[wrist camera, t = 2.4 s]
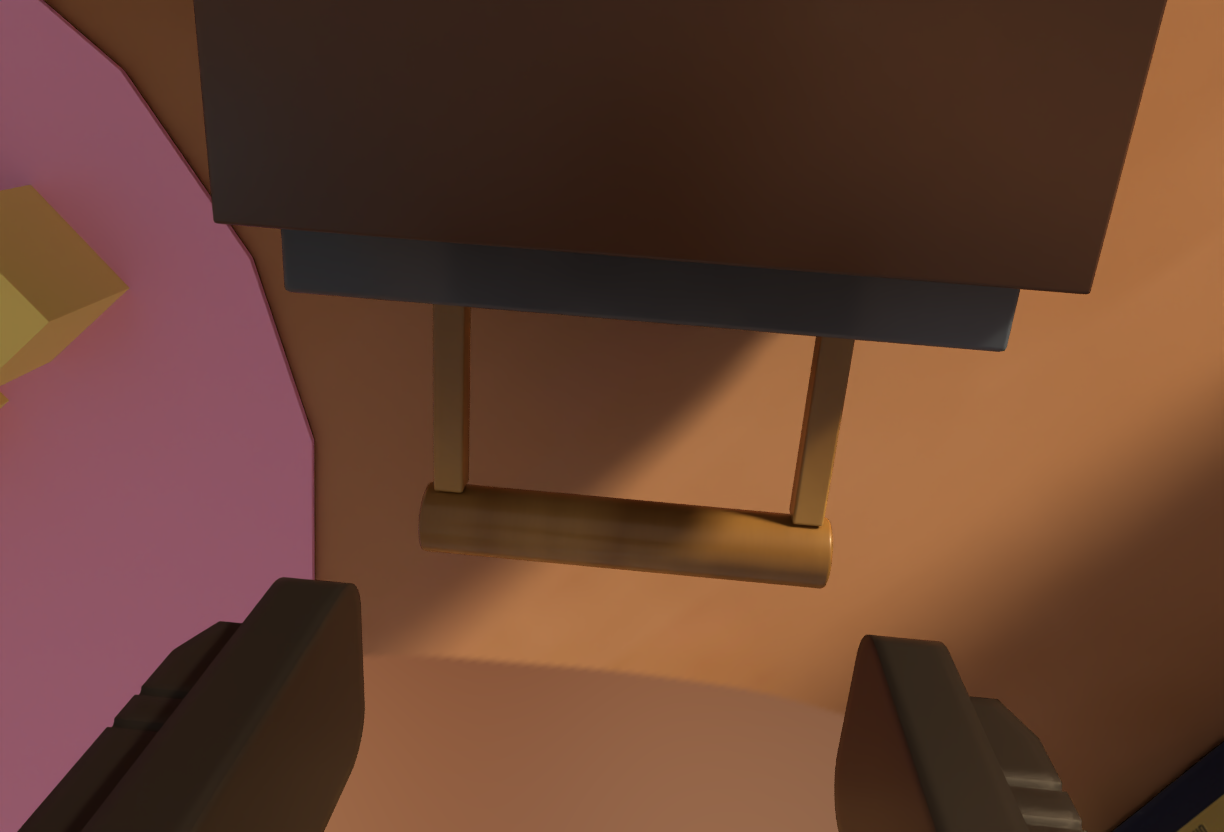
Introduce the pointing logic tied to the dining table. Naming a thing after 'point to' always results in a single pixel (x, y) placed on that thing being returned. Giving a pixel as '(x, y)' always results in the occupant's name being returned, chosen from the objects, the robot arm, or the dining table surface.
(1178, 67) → the dining table surface
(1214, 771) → the protein box
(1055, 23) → the cabinet
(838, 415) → the drawer
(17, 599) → the platter
